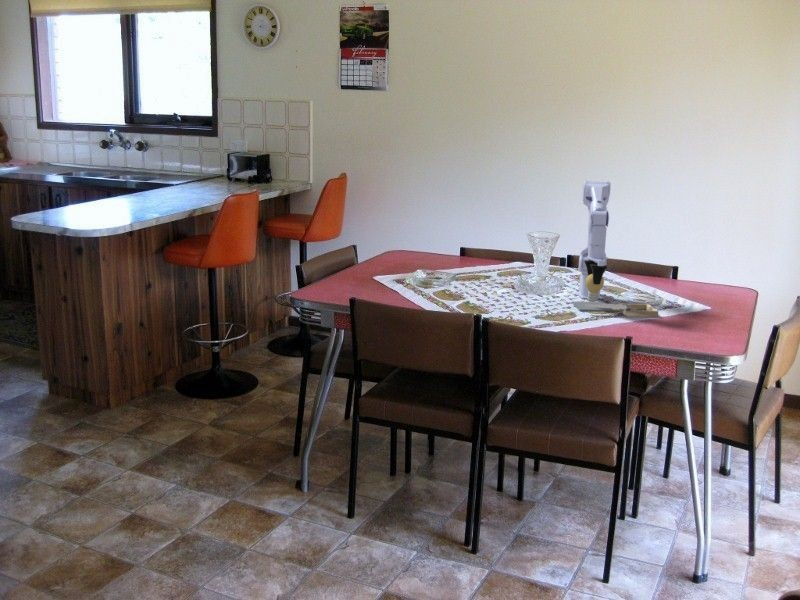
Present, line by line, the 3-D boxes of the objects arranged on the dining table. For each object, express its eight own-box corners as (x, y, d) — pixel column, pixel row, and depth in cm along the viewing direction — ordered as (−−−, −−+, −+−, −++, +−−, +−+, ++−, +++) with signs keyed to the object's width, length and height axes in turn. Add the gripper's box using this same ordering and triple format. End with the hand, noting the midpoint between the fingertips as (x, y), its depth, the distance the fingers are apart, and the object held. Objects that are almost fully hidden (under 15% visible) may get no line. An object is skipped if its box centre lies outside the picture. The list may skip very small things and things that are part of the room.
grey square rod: (585, 307, 293) (585, 302, 293) (585, 306, 295) (585, 301, 294) (631, 310, 291) (631, 305, 290) (630, 309, 293) (630, 304, 292)
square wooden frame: (617, 308, 303) (617, 303, 302) (647, 309, 303) (648, 303, 303) (626, 316, 292) (627, 310, 291) (657, 316, 292) (658, 311, 292)
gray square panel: (571, 302, 310) (571, 301, 310) (604, 303, 311) (604, 302, 311) (579, 310, 299) (579, 309, 298) (613, 311, 299) (613, 309, 299)
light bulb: (605, 302, 303) (608, 275, 301) (591, 303, 300) (594, 275, 298) (593, 298, 308) (596, 271, 306) (579, 299, 305) (583, 272, 303)
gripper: (613, 248, 293) (610, 286, 296) (602, 241, 307) (599, 278, 310) (593, 247, 292) (590, 286, 295) (583, 241, 306) (580, 277, 310)
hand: (594, 282), depth 303 cm, fingers closed on light bulb, 6 cm apart
